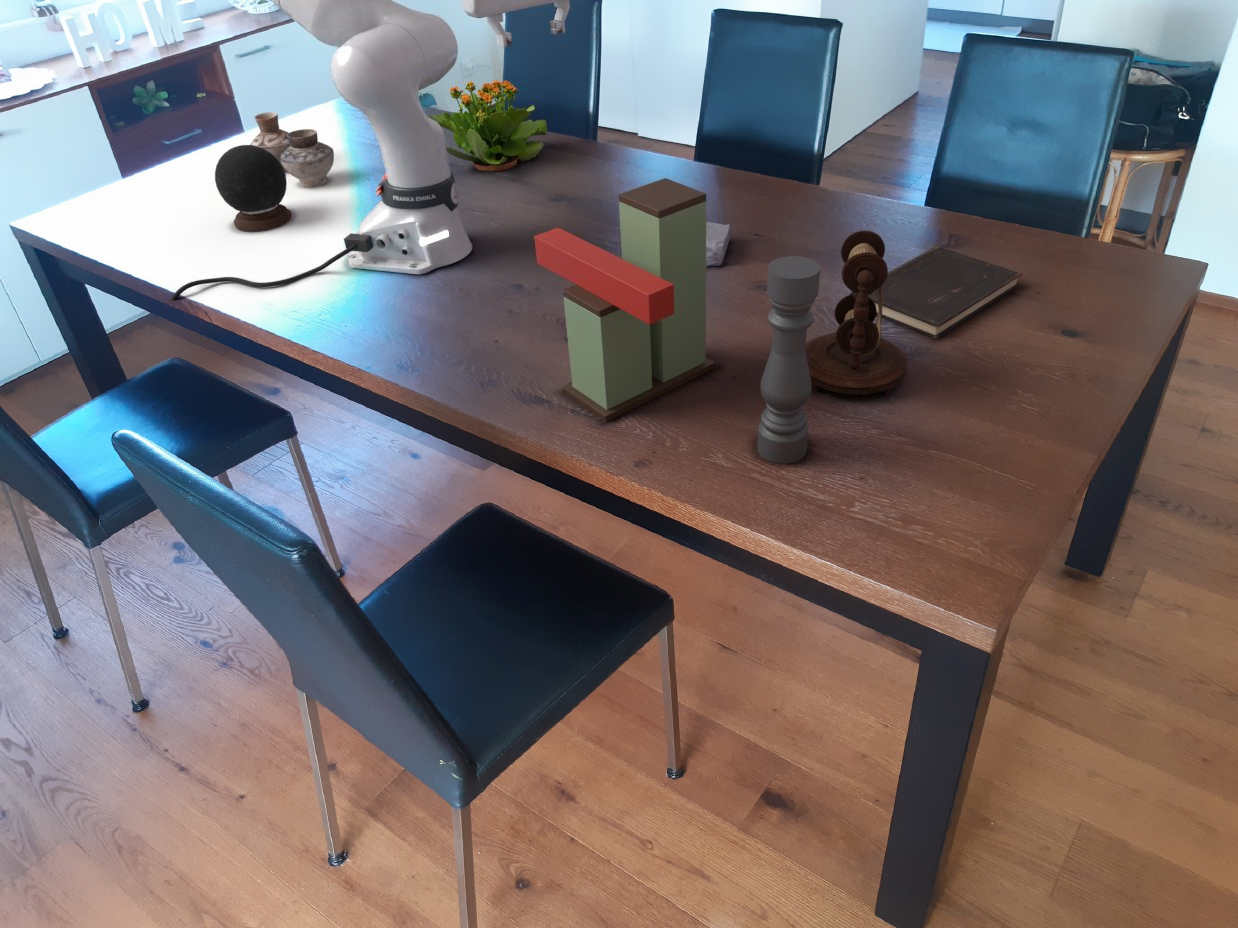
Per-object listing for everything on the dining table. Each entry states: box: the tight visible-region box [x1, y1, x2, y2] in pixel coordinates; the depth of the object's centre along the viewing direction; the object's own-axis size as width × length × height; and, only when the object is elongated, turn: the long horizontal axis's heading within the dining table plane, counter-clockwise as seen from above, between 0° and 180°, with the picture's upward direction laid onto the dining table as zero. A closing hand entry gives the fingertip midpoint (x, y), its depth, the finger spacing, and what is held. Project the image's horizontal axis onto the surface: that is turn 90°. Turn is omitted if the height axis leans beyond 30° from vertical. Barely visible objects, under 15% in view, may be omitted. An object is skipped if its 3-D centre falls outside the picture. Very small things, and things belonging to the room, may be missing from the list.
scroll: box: [805, 230, 908, 396], centre depth 122 cm, size 15×15×20 cm
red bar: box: [533, 227, 674, 325], centre depth 118 cm, size 24×4×4 cm, turn 39°
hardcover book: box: [849, 245, 1023, 340], centre depth 145 cm, size 16×23×2 cm
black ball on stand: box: [214, 144, 293, 233], centre depth 181 cm, size 13×13×15 cm
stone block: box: [706, 221, 731, 267], centre depth 162 cm, size 12×5×10 cm
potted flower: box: [427, 79, 548, 173], centre depth 198 cm, size 25×24×18 cm
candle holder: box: [756, 255, 821, 465], centre depth 108 cm, size 6×6×25 cm
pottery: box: [250, 111, 335, 188], centre depth 202 cm, size 11×25×12 cm, turn 47°
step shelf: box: [562, 177, 716, 423], centre depth 122 cm, size 10×20×26 cm, turn 128°
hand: (532, 40), depth 135 cm, fingers open, 8 cm apart
